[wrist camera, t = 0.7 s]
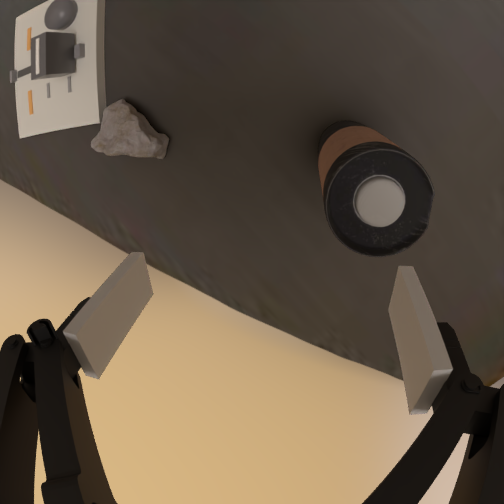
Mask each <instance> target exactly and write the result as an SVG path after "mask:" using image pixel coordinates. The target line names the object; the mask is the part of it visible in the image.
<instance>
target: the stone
mask: <svg viewBox="0 0 504 504" xmlns="http://www.w3.org/2000/svg"><path fill="white" fill-rule="evenodd" d="M168 141H169V138H168V137H167V136H166V135H165V134H159V133H157V132H156V131H155V130H154V129H153V127H151V126H150V124H149V122H148V121H147V119H146V118H145V116H144V115H143V114H141V113H139V112H137V111H136V109H135V108H134V107H133V106H132V105H131V104H129V103H127V102H126V101H125V100H124V99H121V100H118V101H117V102H115V103H113V104H111V105H110V106H108V107H106V108H105V109H104V111H103V119H102V123H101V130H100V132H99V133H98V134H97V136H96V137H95V138H94V139H93V140H92V142H91V147H92V148H94V150H95V151H97V152H104V153H105V154H106V155H108V156H114V155H115V156H118V155H122V154H124V155H129V156H134V157H157V158H158V159H163V158H164V157H165V155H166V149H167V146H168V144H169V142H168Z"/></svg>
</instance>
